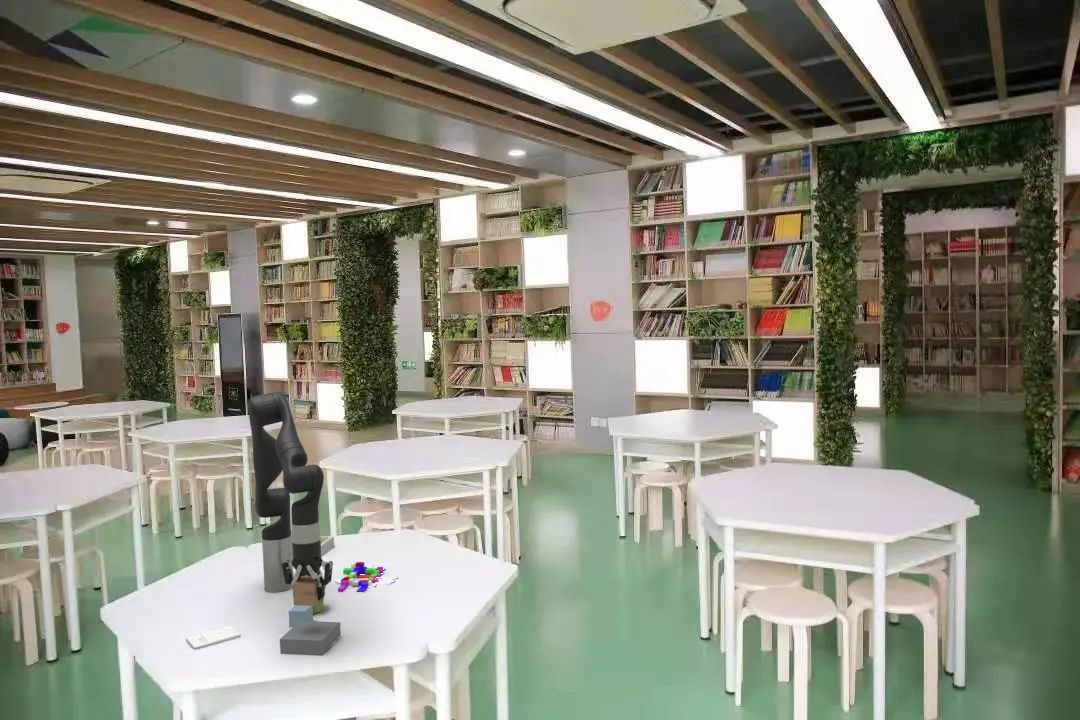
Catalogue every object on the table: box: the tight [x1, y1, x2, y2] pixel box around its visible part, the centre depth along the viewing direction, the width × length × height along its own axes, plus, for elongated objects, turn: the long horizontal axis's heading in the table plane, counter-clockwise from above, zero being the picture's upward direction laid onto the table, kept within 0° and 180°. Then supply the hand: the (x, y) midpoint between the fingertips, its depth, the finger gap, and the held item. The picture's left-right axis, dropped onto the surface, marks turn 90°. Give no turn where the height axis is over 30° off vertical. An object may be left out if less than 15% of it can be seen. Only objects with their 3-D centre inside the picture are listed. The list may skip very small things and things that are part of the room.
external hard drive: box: [185, 625, 242, 651], centre depth 217 cm, size 2×8×12 cm
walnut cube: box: [292, 576, 325, 606], centre depth 210 cm, size 6×6×6 cm
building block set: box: [334, 561, 385, 593], centre depth 262 cm, size 25×20×4 cm
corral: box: [291, 535, 335, 557], centre depth 292 cm, size 17×17×4 cm
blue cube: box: [288, 605, 314, 628], centre depth 225 cm, size 5×5×5 cm
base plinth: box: [279, 620, 342, 656], centre depth 211 cm, size 12×12×4 cm
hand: (309, 598), depth 211 cm, fingers closed on walnut cube, 6 cm apart
